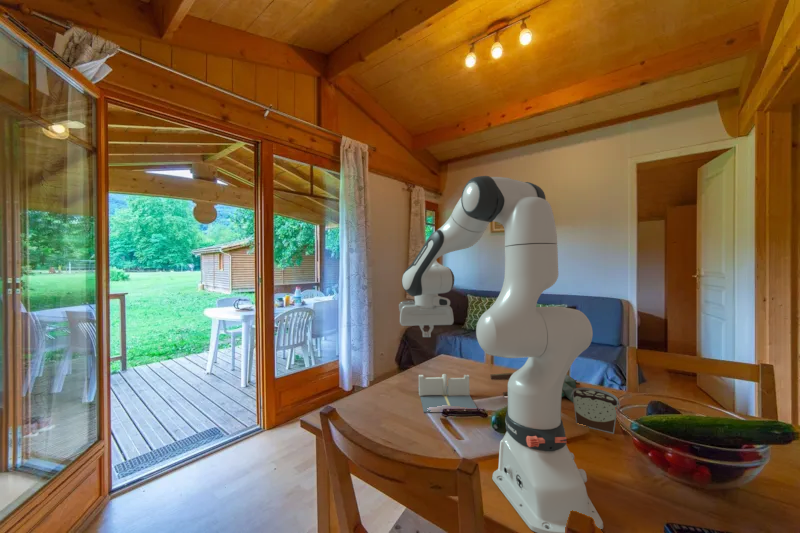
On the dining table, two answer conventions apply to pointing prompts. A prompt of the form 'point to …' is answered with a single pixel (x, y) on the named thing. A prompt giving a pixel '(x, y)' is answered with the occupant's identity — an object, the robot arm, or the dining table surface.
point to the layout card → (446, 401)
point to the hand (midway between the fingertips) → (426, 336)
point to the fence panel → (433, 385)
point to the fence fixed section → (458, 386)
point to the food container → (595, 408)
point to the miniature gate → (566, 390)
